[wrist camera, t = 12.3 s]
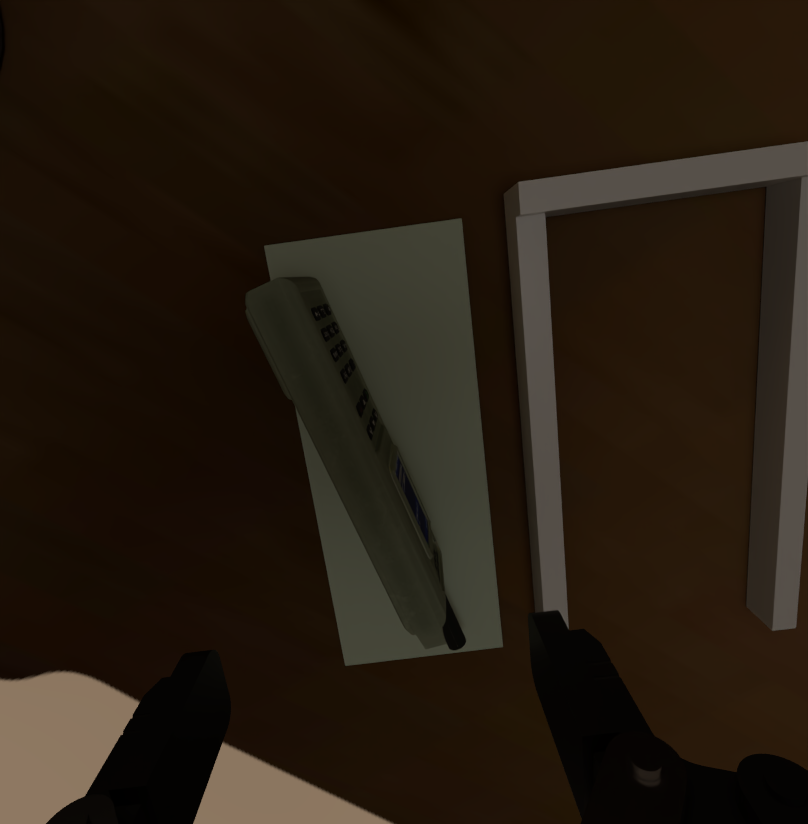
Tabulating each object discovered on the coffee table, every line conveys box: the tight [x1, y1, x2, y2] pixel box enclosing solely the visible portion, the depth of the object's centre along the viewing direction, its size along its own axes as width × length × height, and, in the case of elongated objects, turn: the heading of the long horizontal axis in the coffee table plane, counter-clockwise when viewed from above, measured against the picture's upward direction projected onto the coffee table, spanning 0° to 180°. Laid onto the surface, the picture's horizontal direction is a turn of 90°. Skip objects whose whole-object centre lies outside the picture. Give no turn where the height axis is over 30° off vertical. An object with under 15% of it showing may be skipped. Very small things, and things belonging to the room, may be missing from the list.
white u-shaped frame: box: [504, 141, 808, 631], centre depth 29 cm, size 16×28×4 cm, turn 8°
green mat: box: [264, 218, 503, 666], centre depth 31 cm, size 11×28×1 cm, turn 7°
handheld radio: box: [245, 277, 466, 650], centre depth 28 cm, size 7×3×25 cm
